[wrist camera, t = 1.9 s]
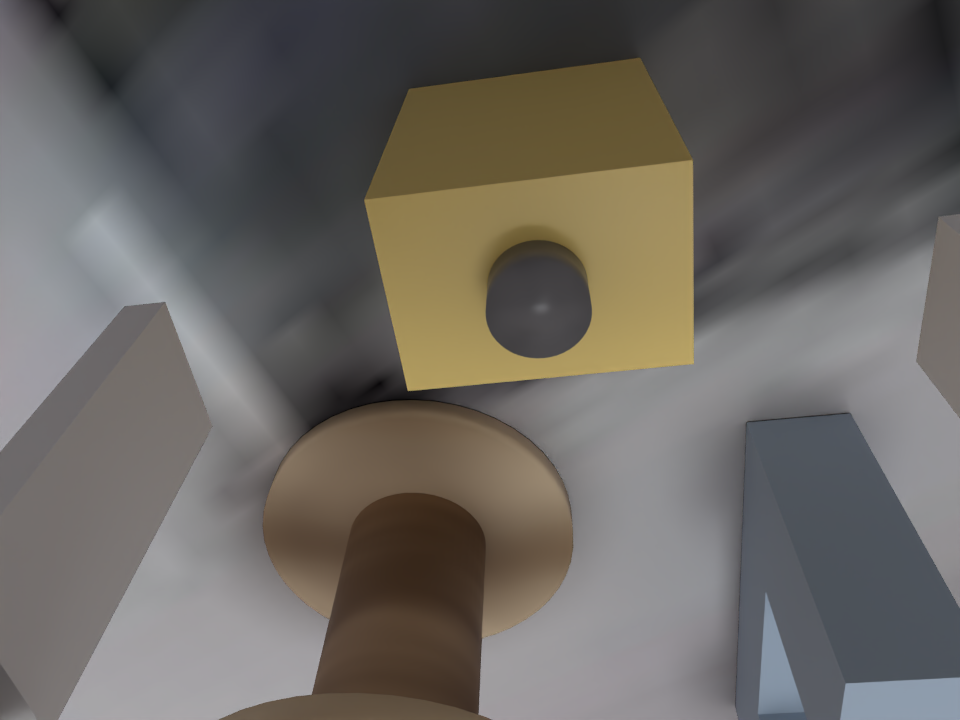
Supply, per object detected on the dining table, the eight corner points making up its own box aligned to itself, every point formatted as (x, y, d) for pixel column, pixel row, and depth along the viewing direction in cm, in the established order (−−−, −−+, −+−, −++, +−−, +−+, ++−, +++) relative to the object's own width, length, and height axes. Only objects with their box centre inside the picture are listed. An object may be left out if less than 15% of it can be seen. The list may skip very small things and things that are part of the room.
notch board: (746, 422, 25) (845, 683, 17) (850, 413, 25) (997, 675, 17) (735, 707, 32) (801, 976, 25) (814, 703, 32) (905, 974, 25)
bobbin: (231, 415, 26) (70, 751, 16) (557, 385, 24) (581, 726, 15) (312, 630, 31) (225, 974, 22) (582, 612, 30) (611, 967, 21)
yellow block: (409, 88, 20) (354, 223, 13) (640, 57, 19) (704, 182, 13) (436, 240, 22) (401, 421, 15) (645, 216, 22) (704, 394, 15)
